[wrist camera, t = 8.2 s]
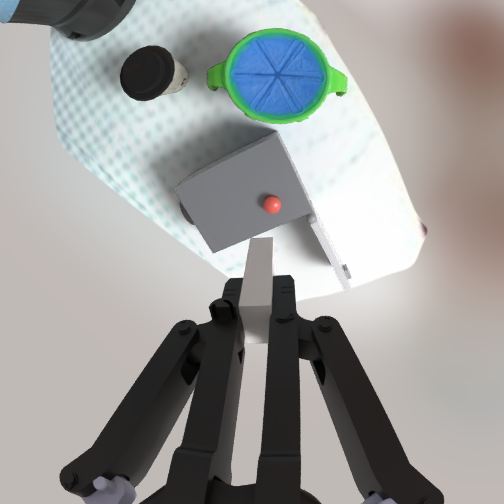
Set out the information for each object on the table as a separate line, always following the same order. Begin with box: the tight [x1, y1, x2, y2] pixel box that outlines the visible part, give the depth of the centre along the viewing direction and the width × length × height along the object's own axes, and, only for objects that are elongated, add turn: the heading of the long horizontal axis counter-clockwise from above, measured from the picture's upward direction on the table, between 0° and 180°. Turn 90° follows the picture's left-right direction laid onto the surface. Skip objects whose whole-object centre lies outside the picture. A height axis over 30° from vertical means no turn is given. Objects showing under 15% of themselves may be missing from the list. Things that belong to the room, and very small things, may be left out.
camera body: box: [174, 131, 313, 253], centre depth 35 cm, size 10×15×8 cm, turn 117°
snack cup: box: [207, 28, 347, 124], centre depth 26 cm, size 16×10×10 cm
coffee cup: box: [120, 46, 188, 101], centre depth 27 cm, size 7×7×10 cm
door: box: [306, 199, 351, 292], centre depth 38 cm, size 2×13×6 cm, turn 32°
